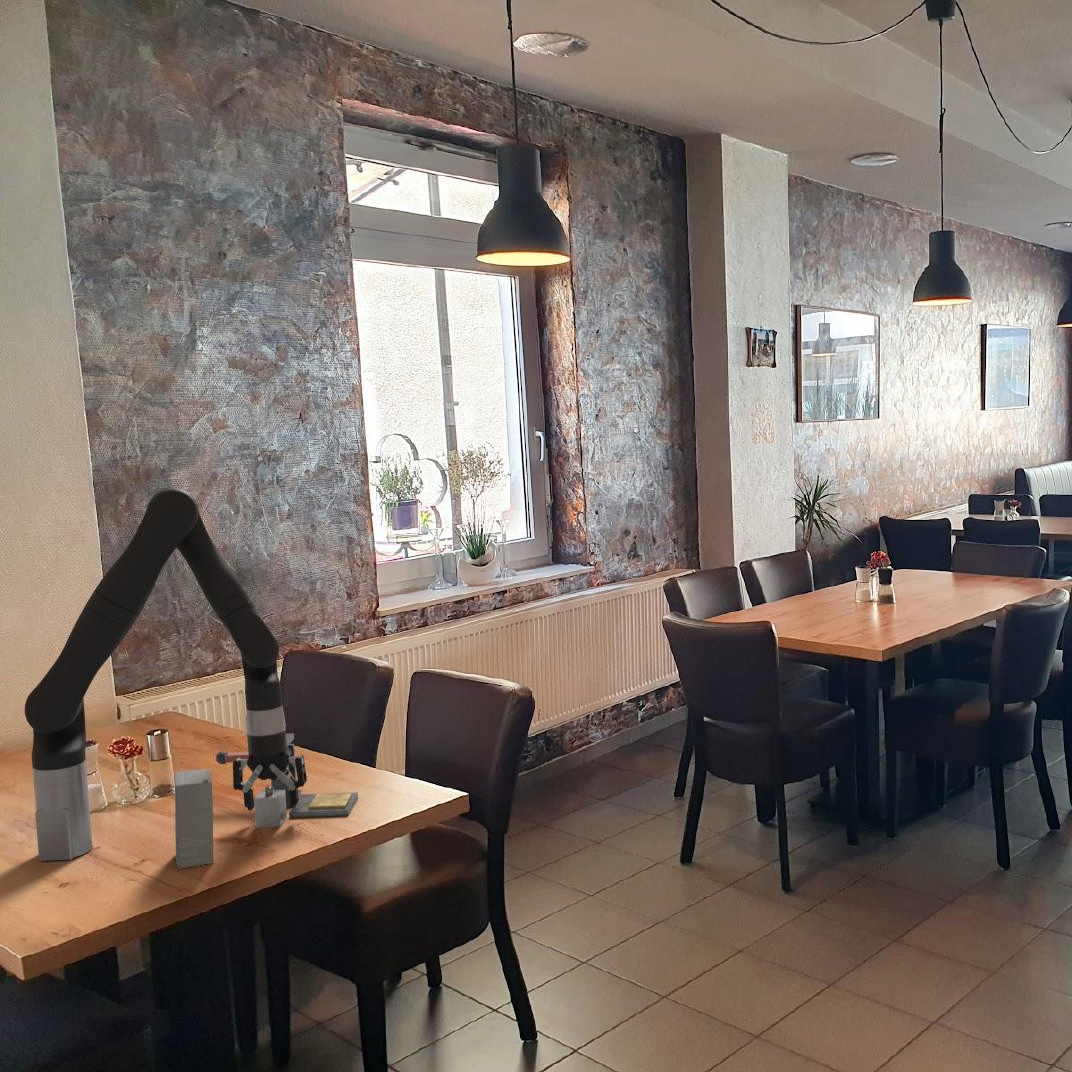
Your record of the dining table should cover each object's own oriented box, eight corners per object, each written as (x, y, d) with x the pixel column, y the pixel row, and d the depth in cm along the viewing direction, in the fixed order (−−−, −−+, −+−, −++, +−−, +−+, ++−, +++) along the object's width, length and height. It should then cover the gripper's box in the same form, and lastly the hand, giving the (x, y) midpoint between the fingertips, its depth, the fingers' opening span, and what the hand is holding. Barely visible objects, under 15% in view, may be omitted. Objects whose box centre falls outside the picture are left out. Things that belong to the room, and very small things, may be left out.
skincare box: (175, 854, 194) (169, 771, 193) (215, 848, 197) (209, 766, 196) (176, 871, 187) (170, 784, 185) (218, 864, 189) (212, 778, 188)
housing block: (280, 827, 207) (278, 790, 206) (255, 828, 207) (253, 791, 206) (287, 818, 212) (284, 782, 211) (262, 819, 212) (260, 783, 211)
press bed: (348, 815, 212) (344, 749, 211) (260, 818, 212) (256, 752, 211) (361, 792, 226) (357, 730, 225) (279, 795, 227) (275, 733, 226)
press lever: (286, 764, 220) (286, 751, 219) (213, 767, 220) (212, 754, 220) (291, 758, 224) (291, 746, 224) (219, 761, 224) (218, 748, 224)
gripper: (224, 736, 204) (231, 816, 206) (296, 732, 204) (303, 812, 205) (236, 725, 212) (242, 803, 213) (305, 722, 212) (311, 800, 213)
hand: (272, 808), depth 209 cm, fingers open, 8 cm apart
